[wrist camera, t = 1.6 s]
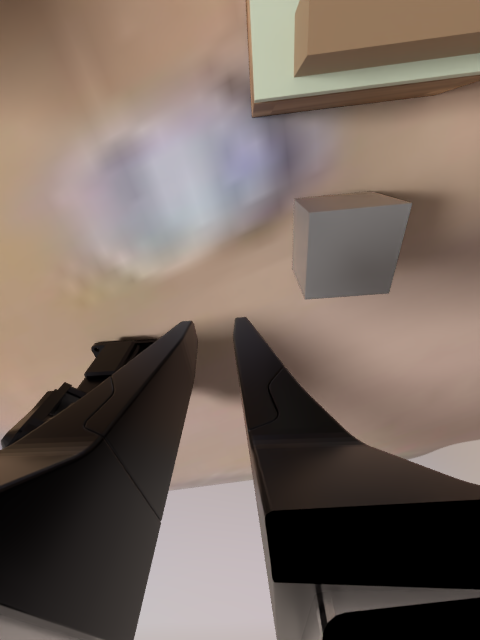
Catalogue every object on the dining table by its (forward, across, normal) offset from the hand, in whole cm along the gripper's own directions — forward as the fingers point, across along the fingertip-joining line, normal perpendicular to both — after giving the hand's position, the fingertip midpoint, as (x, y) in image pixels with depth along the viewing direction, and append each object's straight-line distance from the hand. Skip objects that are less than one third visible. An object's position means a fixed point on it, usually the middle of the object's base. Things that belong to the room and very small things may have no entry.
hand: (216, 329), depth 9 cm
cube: (+11, -7, 0) cm, 13 cm away
